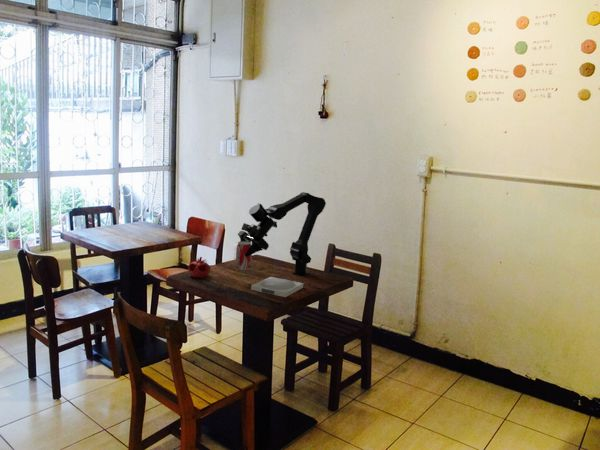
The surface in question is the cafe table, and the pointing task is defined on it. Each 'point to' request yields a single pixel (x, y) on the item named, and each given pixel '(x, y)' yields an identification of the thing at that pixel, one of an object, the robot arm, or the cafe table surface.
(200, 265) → the pomegranate
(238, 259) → the soda can
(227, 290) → the cafe table surface
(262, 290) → the scale
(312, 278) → the cafe table surface
